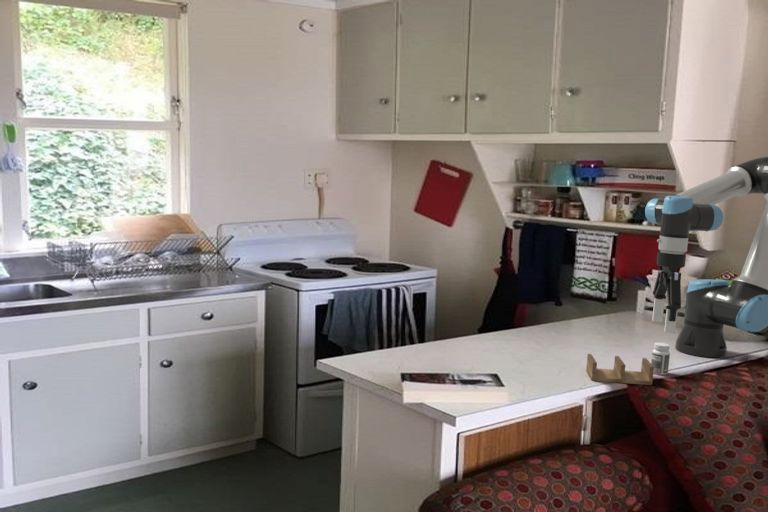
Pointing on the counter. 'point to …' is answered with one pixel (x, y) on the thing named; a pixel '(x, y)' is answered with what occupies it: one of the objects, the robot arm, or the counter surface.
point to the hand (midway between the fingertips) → (663, 326)
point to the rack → (620, 372)
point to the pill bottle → (660, 358)
